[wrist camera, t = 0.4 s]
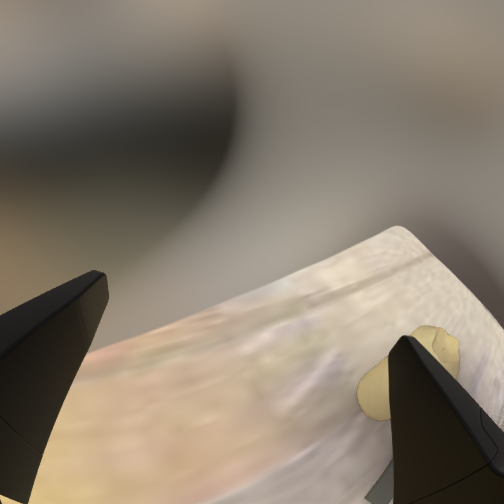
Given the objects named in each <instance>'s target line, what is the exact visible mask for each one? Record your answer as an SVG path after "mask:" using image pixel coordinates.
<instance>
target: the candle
mask: <svg viewBox="0 0 504 504" xmlns="http://www.w3.org/2000/svg"><path fill="white" fill-rule="evenodd" d="M410 336H413V337H415V338H416V339H417V340H418V341H419V342H420V343H421V344H422V345H423V346H424V347H425V348H426V349H427V350H428V351H429V352H430V353H431V354H432V355H433V356H434V357H435V358H436V359H437V360H438V361H439V363H440V364H441V365H442V366H443V367H444V368H445V369H446V370H447V371H448V372H449V373H450V374H451V375H452V376H453V377H454V378H455V379H456V378H457V376H458V373H459V367H460V354H459V347H460V343H459V340H458V339H457V338H455V337H452V336H450V335H449V334H447V333H446V331H445V330H444V329H443V328H437V327H434V326H427V325H426V326H421V327H419V328H417V329H416V330H415V331H414V332H413V333H412V334H411V335H410ZM357 398H358V402H359V405H360V407H361V409H362V410H363V412H364V413H365V414H366V415H367V416H369V417H370V418H372V419H375V420H379V421H384V420H389V419H391V417H390V407H389V378H388V356H387V357H386V358H385V359H383V360H382V361H381V362H380V363H379V364H378V365H376V366H375V367H374V368H373V369H372V370H370V371H369V372H368V373H367V374H366V375H365V376H364V377H363V378H362V380H361V381H360V383H359V385H358V389H357Z"/></svg>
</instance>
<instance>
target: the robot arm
mask: <svg viewBox="0 0 504 504" xmlns="http://www.w3.org/2000/svg"><path fill="white" fill-rule="evenodd" d="M108 300H109V291H108V283H107V276H106V274H104V273H103V272H100V271H96V270H92V271H90V272H87V273H85V274H83V275H81V276H79V277H77V278H74V279H72V280H70V281H68V282H66V283H64V284H62V285H60V286H58V287H56V288H53V289H51V290H49V291H47V292H45V293H43V294H41V295H40V296H37V297H35V298H33V299H31V300H29V301H27V302H25V303H23V304H21V305H19V306H17V307H15V308H13V309H12V310H9V311H8V312H6V313H4V314H2V315H0V495H2V496H5V497H7V498H9V499H12V500H14V501H17V502H20V503H22V504H28V502H29V498H30V495H31V491H32V488H33V484H34V481H35V478H36V475H37V471H38V468H39V465H40V462H41V459H42V457H43V455H42V454H43V453H44V450H45V448H46V445H47V442H48V439H49V437H50V434H51V432H52V429H53V426H54V424H55V422H56V419H57V417H58V414H59V412H60V409H61V407H62V405H63V402H64V400H65V398H66V396H67V393H68V391H69V389H70V387H71V385H72V382H73V380H74V378H75V376H76V374H77V372H78V370H79V368H80V366H81V363H82V361H83V359H84V357H85V355H86V353H87V351H88V349H89V347H90V345H91V343H92V340H93V338H94V335H95V333H96V330H97V328H98V325H99V323H100V320H101V318H102V315H103V313H104V310H105V308H106V306H107V303H108ZM388 378H389V407H390V417H391V430H392V446H393V504H504V432H503V431H502V430H501V429H500V428H499V427H498V426H497V425H496V424H495V422H494V421H493V420H492V419H491V418H490V417H489V416H488V415H487V414H486V412H485V411H484V410H483V409H482V408H481V407H480V406H479V405H478V403H477V402H476V401H475V400H474V399H473V398H472V397H471V396H470V395H469V393H468V392H467V391H466V390H465V389H464V388H463V387H462V386H461V385H460V384H459V383H458V382H457V380H456V379H455V378H454V377H453V376H452V375H451V374H450V373H449V372H448V371H447V370H446V369H445V368H444V367H443V366H442V365H441V364H440V363H439V361H438V360H437V359H436V358H435V357H434V356H433V355H432V354H431V353H430V352H429V351H428V350H427V349H426V348H425V347H424V346H423V345H422V344H421V343H420V342H419V341H418V340H417V339H416V338H415V337H413V336H407V335H403V336H402V337H400V338H399V340H398V341H397V343H396V344H395V345H394V347H393V348H392V349H391V351H390V352H389V355H388ZM0 504H2V503H1V501H0Z"/></svg>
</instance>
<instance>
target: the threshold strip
mask: <svg viewBox="0 0 504 504" xmlns="http://www.w3.org/2000/svg"><path fill="white" fill-rule="evenodd" d="M392 498H393V460H392V461H391V463H390V464H389V466H388V467H387V468H386V470H385V471H384V473H383V474H382V475H381V477H380V478H379V480H378V481H377V482H376V484H375V485H374V486H373V487H372V489H371V490H370V491H369V493H368V494H367V495H366V496H365V499H366V500H367V501H369V502H370V503H372V504H388V503H389V502H390V501H391V499H392Z"/></svg>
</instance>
